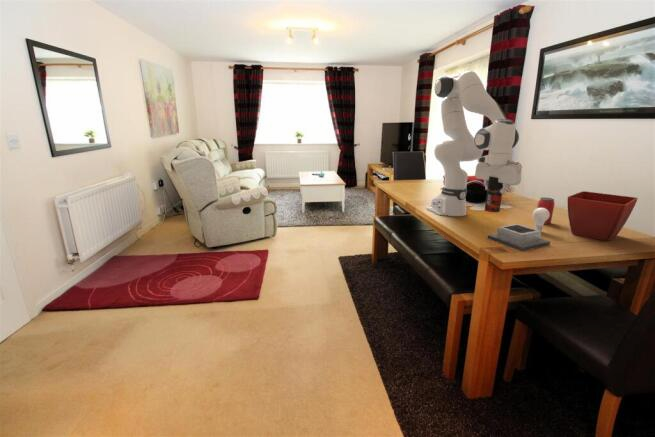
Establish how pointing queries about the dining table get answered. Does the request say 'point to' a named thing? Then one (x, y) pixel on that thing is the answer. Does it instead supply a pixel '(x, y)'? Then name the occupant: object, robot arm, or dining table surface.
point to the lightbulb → (540, 217)
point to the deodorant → (493, 195)
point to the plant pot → (598, 214)
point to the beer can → (547, 206)
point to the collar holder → (519, 237)
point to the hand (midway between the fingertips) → (494, 191)
